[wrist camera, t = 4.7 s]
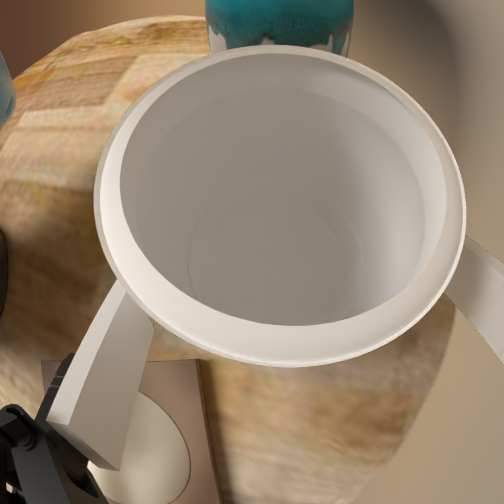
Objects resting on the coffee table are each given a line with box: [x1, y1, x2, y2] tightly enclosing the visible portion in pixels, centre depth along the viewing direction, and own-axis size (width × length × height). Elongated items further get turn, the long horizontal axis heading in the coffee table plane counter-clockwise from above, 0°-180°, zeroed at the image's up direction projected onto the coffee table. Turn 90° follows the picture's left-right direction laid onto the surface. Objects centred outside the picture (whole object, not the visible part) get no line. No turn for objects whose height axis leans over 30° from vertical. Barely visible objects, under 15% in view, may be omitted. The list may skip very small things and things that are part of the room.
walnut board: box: [41, 359, 224, 504], centre depth 17 cm, size 14×14×1 cm
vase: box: [205, 0, 354, 58], centre depth 17 cm, size 11×11×19 cm
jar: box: [94, 45, 466, 367], centre depth 14 cm, size 11×10×15 cm
